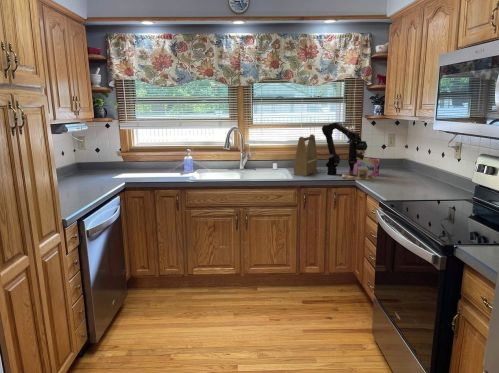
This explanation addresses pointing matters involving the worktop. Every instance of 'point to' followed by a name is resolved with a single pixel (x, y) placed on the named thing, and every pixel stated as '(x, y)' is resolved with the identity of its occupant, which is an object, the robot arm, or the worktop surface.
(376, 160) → the gum box
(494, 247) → the worktop surface
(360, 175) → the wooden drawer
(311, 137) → the caddy
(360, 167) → the tunnel
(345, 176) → the board
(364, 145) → the robot arm
